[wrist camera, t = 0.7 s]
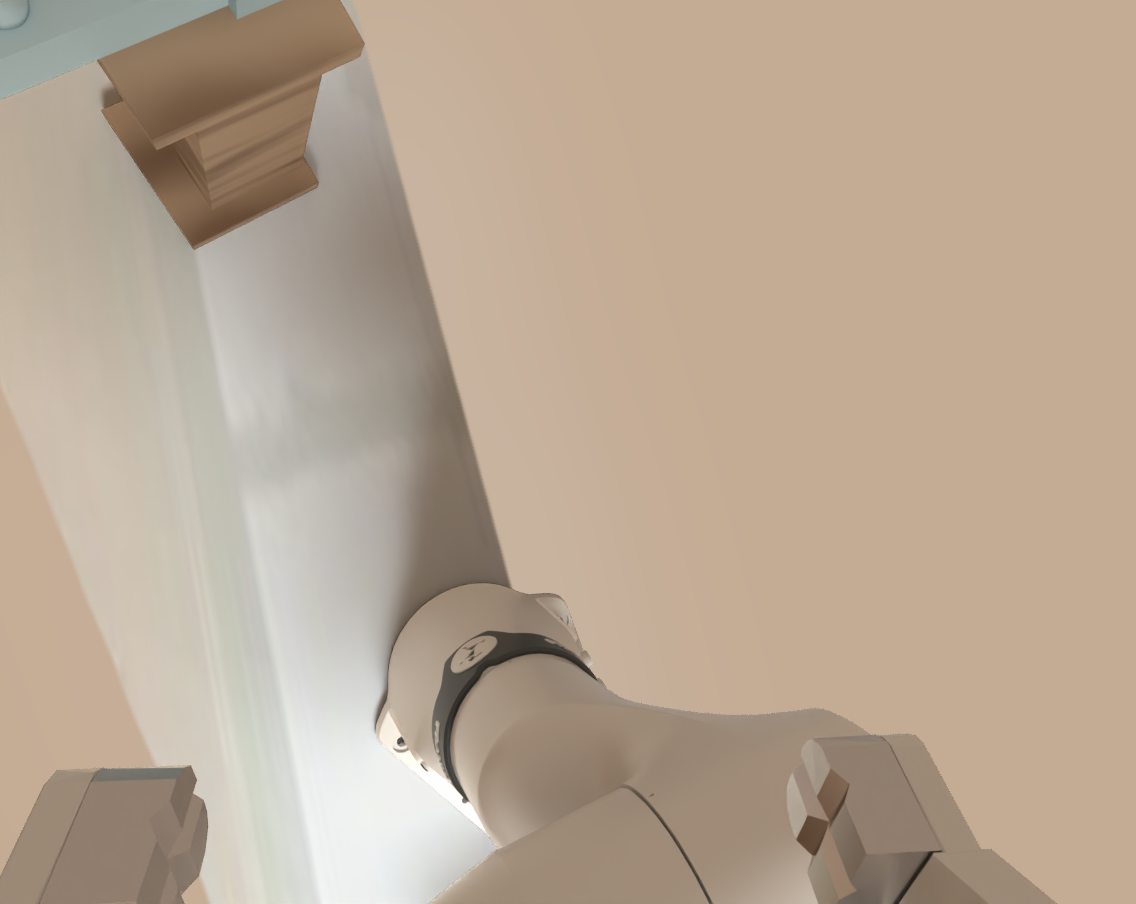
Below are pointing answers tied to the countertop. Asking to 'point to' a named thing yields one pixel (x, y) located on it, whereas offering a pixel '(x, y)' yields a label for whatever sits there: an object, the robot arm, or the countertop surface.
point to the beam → (87, 32)
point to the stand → (228, 109)
